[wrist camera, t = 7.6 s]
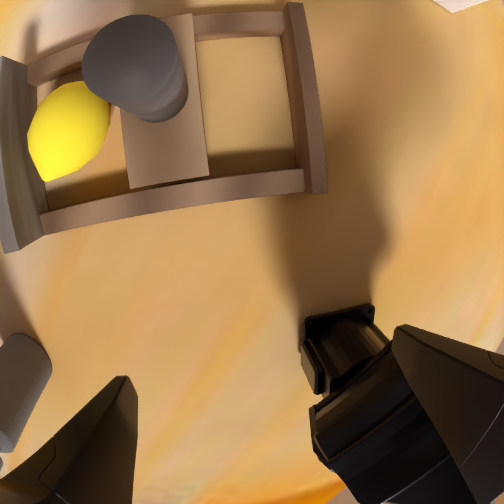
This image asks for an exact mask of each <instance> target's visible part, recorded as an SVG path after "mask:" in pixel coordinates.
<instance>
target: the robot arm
mask: <svg viewBox="0 0 504 504" xmlns="http://www.w3.org/2000/svg"><path fill="white" fill-rule="evenodd" d="M369 308H370V310H369V311H368V309H369ZM374 314H375V307H374V306H373V305H372V304H365V305H361V306H356V307H352V308H348V309H344V310H339V311H335V312H330V313H326V314H321V315H316V316H312V317H308V318H306V319H305V320H304V341H302V343H301V366H302V368H303V370H304V372H305V375H306V377H307V379H308V381H309V384H310V386H311V388H312V390H313V393H314V394H316V395H319V394H322V397H323V400H322V401H320V402H319V403H318V404H316V405H313V406H312V407H310V408H309V417H310V428H311V438H312V445H313V451H314V453H315V454H316V455H317V456H318V459H319V461H320V462H322V463H323V464H324V465H325V466H326V467H327V468H328V469H329V470H331V471H332V472H334V473H336V474H337V475H338V476H339V477H340V478H341V479H342V480H343V482H344V483H345V484H346V486H347V487H348V488H349V490H350V491H351V493H352V494H353V496H354V497H355V499H356V500H357V502H359V503H360V504H383V503H384V502H386V503H390V504H495V502H494V500H495V499H496V498H498V497H499V496H500V495H501V494H502V493H503V492H504V355H501V354H498V353H494V352H491V351H488V350H487V351H486V350H485V349H481V348H478V347H475V346H472V345H469V344H466V343H463V342H459V341H456V340H453V339H450V338H447V337H444V336H441V335H438V334H435V333H432V332H429V331H426V330H423V329H420V328H417V327H414V326H410V325H407V324H403V325H400V326H397V327H396V328H395V330H394V335H393V337H392V338H393V339H392V340H391V341H390V340H389V339H388V338H387V337H386V336H385V335H384V334H383V333H382V331H381V330H380V329H379V328H378V327H377V326H376V325H375V324H374ZM309 322H312V323H311V324H310V325H308V323H309ZM137 438H138V396H137V393H136V390H135V388H134V386H133V384H132V382H131V380H130V378H129V377H128V376H126V375H125V376H116V377H115V378H113V379H112V380H111V381H110V382H109V383H108V384H107V385H106V386H105V387H104V388H103V389H102V390H101V391H100V392H99V393H98V394H97V395H96V396H95V397H94V398H93V399H91V400H90V401H89V402H88V403H87V404H86V405H85V406H84V407H83V408H82V409H81V410H80V411H79V412H78V413H77V414H76V415H75V416H74V417H73V418H72V419H71V420H69V421H68V422H67V423H66V424H65V425H64V426H63V427H62V428H61V429H60V430H59V431H58V432H57V433H56V434H55V435H54V436H53V437H52V438H51V439H50V440H49V441H47V442H46V443H45V444H44V445H43V446H42V447H41V448H40V449H39V450H38V451H37V452H35V453H34V454H33V455H32V456H31V457H29V458H28V459H27V460H26V461H24V462H23V463H22V464H20V465H19V466H18V467H17V468H15V469H14V470H13V471H11V472H10V473H9V474H7V475H6V476H5V477H3V478H2V479H0V504H132V495H133V481H134V469H135V458H136V449H137Z"/></svg>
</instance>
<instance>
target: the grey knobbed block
mask: <svg viewBox="0 0 504 504" xmlns="http://www.w3.org/2000/svg"><path fill="white" fill-rule="evenodd" d="M82 76H83V80H84V82H85V84H86V86H87V87H88V88H89V90H90V91H91V92H92V93H94V94H95V95H97V96H99V97H100V98H102V99H104V100H106V101H108V102H110V103H112V104H114V105H116V106H118V107H119V108H120V113H121V124H122V133H123V142H124V150H125V158H126V165H127V172H128V179H129V185H130V189H133V188H138V187H143V186H149V185H154V184H159V183H165V182H171V181H176V180H182V179H189V178H195V177H201V176H208V175H209V165H208V157H207V149H206V141H205V132H204V124H203V115H202V106H201V97H200V87H199V78H198V68H197V57H196V46H195V37H194V27H193V17H192V13H189V14H182V15H176V16H170V17H164V18H159V19H158V18H156V17H153V16H149V15H131V16H126V17H123V18H120V19H117V20H115V21H113V22H111V23H110V24H108V25H107V26H105V27H104V28H103V29H101V30H100V31H99V32H98V33H97V34H96V35H95V36H94V38H93V39H92V40H91V41H90V43H89V45H88V46H87V48H86V50H85V53H84V56H83V60H82Z"/></svg>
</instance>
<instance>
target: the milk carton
mask: <svg viewBox="0 0 504 504" xmlns="http://www.w3.org/2000/svg"><path fill="white" fill-rule="evenodd" d="M433 1H435V2H436V3H438V4H439V5H441V6H442V7H444V8H445V9H447V10H448V11H450V12H451V13H454V12H457V11H460V10H462V9H465V8H468V7H470V6H473V5H476V4H479V3H482V2H485V1H488V0H433Z"/></svg>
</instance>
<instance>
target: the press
mask: <svg viewBox="0 0 504 504" xmlns="http://www.w3.org/2000/svg"><path fill="white" fill-rule="evenodd" d="M192 17H193V27H194V37H195V42H197V41H205V40H214V39H225V38H239V37H264V36H280V38H281V45H282V51H283V58H284V65H285V72H286V79H287V86H288V94H289V102H290V110H291V119H292V127H293V137H294V146H295V156H296V166H297V168H292V169H282V170H272V171H262V172H253V173H245V174H237V175H229V176H222V177H215V178H208V179H201V180H195V181H188V182H182V183H176V184H170V185H165V186H159V187H154V188H148V189H143V190H138V191H133V192H128V193H123V194H118V195H114V196H109V197H104V198H100V199H96V200H91V201H87V202H83V203H79V204H75V205H71V206H67V207H63V208H59V209H55V210H51V211H49V208H48V203H47V198H46V192H45V186H44V181H43V180H42V178H41V176H40V174H39V173H38V171H37V169H36V167H35V165H34V162H33V160H32V158H31V155H30V153H29V149H28V139H27V133H28V130H29V128H30V125H31V122H32V120H33V117H34V115H35V113H36V110H37V86H39V85H41V84H44V83H46V82H48V81H51V80H53V79H56V78H58V77H61V76H63V75H66V74H68V73H71V72H74V71H76V70H79V69H82V60H83V56H84V53H85V50H86V48H87V46H88V45H89V43H90V41H91V40H92V39H91V40H88V41H86V42H83V43H80V44H77V45H75V46H72V47H69V48H67V49H64V50H62V51H59V52H57V53H55V54H52V55H50V56H48V57H46V58H43V59H41V60H39V61H37V62H35V63H33V64H31V65H29V66H26V65H24V64H21V63H19V62H17V61H14V60H12V59H9V58H7V57H4V56H1V57H0V240H1V244H2V248H3V252H4V254H6V253H10V252H14V251H18V250H20V249H22V248H24V247H25V246H27V245H29V244H30V243H32V242H34V241H35V240H37V239H39V238H41V237H42V236H44V235H48V234H52V233H57V232H61V231H65V230H70V229H74V228H79V227H84V226H88V225H93V224H98V223H103V222H108V221H113V220H118V219H123V218H129V217H134V216H139V215H145V214H150V213H156V212H162V211H168V210H174V209H180V208H186V207H192V206H199V205H205V204H212V203H219V202H226V201H233V200H240V199H248V198H256V197H263V196H272V195H280V194H289V193H298V192H307V193H310V194H312V195H314V194H324V193H328V187H327V173H326V160H325V149H324V138H323V128H322V119H321V111H320V103H319V95H318V87H317V80H316V74H315V67H314V61H313V54H312V49H311V43H310V37H309V32H308V26H307V21H306V16H305V11H304V7H303V3H294V2H288V3H287V4H286V6H285V8H284V9H283V11H282V12H281V11H249V12H228V13H215V14H205V15H197V16H192Z"/></svg>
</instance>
